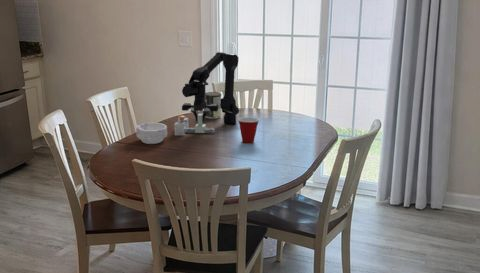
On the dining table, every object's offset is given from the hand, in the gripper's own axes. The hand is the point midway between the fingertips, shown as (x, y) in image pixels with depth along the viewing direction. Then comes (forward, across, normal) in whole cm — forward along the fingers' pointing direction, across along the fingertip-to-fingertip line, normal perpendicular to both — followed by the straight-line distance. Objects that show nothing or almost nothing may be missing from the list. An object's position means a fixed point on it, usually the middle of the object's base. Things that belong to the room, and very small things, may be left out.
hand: (200, 122), depth 262 cm
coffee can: (+6, +3, +35) cm, 36 cm away
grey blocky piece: (+5, -10, 0) cm, 11 cm away
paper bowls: (+5, -22, -19) cm, 29 cm away
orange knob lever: (+2, -10, 0) cm, 10 cm away
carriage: (+5, 0, 0) cm, 5 cm away
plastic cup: (+5, +26, -14) cm, 30 cm away
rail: (+5, 0, 0) cm, 5 cm away
